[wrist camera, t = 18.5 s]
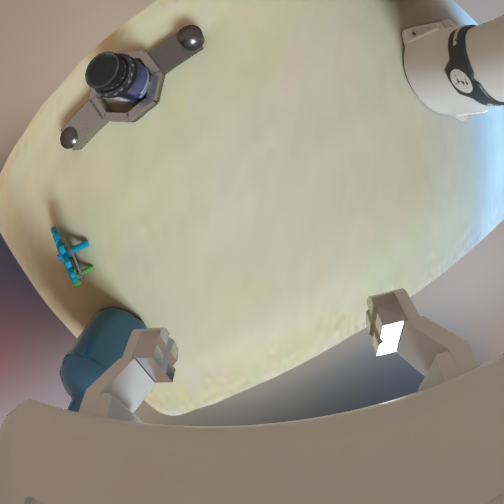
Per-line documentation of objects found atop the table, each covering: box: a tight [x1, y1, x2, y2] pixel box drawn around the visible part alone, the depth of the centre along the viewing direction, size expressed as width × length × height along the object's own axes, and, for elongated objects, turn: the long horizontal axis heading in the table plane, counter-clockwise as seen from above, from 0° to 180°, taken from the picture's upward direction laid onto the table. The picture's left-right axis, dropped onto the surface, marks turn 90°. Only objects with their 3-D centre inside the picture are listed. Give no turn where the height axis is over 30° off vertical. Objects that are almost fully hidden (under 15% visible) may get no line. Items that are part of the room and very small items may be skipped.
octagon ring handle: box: [60, 25, 204, 150], centre depth 31 cm, size 26×11×3 cm, turn 124°
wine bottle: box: [60, 307, 147, 412], centre depth 34 cm, size 14×13×30 cm
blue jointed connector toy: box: [51, 227, 93, 288], centre depth 39 cm, size 11×6×10 cm
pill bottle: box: [85, 52, 152, 104], centre depth 27 cm, size 6×6×11 cm
